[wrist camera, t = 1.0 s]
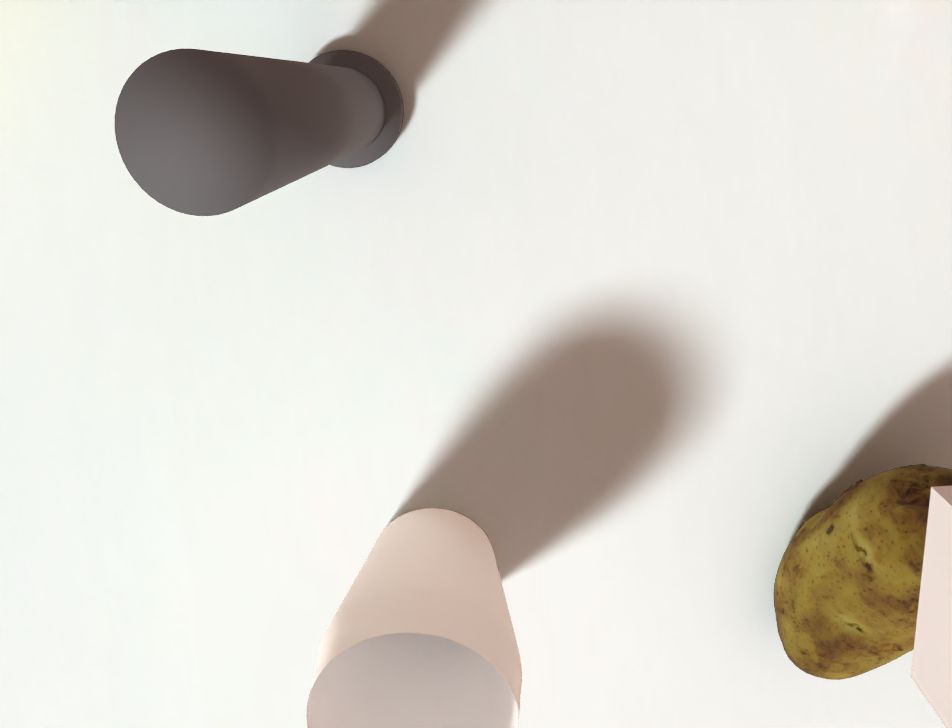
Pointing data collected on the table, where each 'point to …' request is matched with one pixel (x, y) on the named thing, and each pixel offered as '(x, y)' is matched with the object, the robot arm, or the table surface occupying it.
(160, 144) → the post
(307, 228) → the table surface
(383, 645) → the cup
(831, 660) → the potato
